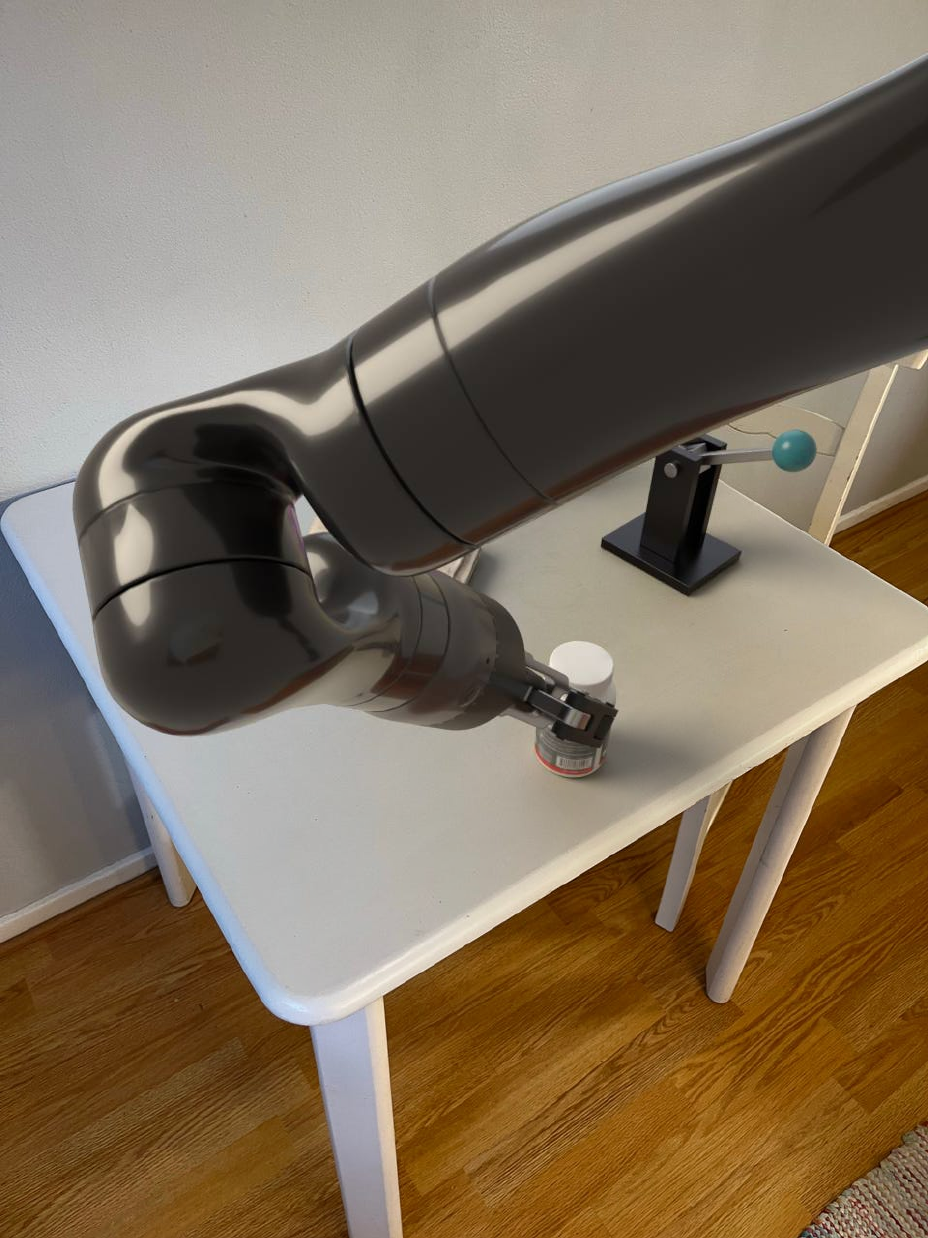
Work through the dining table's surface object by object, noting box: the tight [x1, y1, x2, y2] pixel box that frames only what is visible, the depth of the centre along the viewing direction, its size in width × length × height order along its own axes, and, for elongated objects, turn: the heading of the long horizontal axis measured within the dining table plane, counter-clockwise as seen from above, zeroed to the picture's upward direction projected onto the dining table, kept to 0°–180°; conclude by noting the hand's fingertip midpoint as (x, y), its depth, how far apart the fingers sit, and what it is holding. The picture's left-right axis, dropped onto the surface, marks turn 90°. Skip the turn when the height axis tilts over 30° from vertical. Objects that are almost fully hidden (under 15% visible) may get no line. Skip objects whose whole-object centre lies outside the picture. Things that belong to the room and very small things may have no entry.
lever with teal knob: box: [679, 429, 818, 474], centre depth 81 cm, size 14×4×4 cm, turn 43°
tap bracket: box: [600, 433, 742, 597], centre depth 88 cm, size 11×9×13 cm
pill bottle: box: [534, 640, 617, 778], centre depth 68 cm, size 6×6×10 cm
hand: (533, 685), depth 59 cm, fingers open, 8 cm apart
